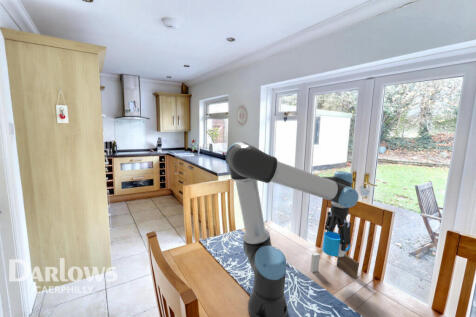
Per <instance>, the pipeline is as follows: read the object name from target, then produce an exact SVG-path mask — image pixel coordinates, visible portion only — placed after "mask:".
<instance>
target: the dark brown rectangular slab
mask: <svg viewBox="0 0 476 317" xmlns="http://www.w3.org/2000/svg"><path fill="white" fill-rule="evenodd" d="M359 266H360V262H358V261H357V260H355V259H353V258H352V257H350V256H349V255H347V253H346V254H344V256H343V257H340V259H339V267H338V268H339V269H340V270H342V271H343V272H345V273H346V274H347V275H349V276H350V277H353V279H355V280H356V279H358V275H359V274H358V273H359Z"/></svg>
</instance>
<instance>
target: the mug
mask: <svg viewBox="0 0 476 317" xmlns="http://www.w3.org/2000/svg"><path fill="white" fill-rule="evenodd" d="M322 241H323V243H322V252H323V253H324V254H326V255H328V256H330V257H335V258H336V257H337V258H338V251H339V243H341V240H340V234H339V232H336V231H333V232H332V231H327V230H326V231H324V234H323V240H322ZM351 247H352V246H351V244H350V245H347V246H346V250H345V252H346V251H349V250H350V249H351Z"/></svg>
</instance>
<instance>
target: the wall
mask: <svg viewBox="0 0 476 317" xmlns="http://www.w3.org/2000/svg"><path fill="white" fill-rule="evenodd" d="M344 254H346V255H347V251H346V252H345V253H344ZM320 257H321V254H320V253H319V252H314V253H311V261H310V262H311V263H310V272H311V273H316V272H318V271H319V267H320V259H321V258H320ZM339 259H340V257H338V256H337V259H336V267H337V268H339Z"/></svg>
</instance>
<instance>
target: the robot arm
mask: <svg viewBox="0 0 476 317" xmlns="http://www.w3.org/2000/svg"><path fill="white" fill-rule="evenodd" d="M225 162H226V163H227V165H228V169H229V173H230V178H231V179H230V180H233V181H234V182H235V185H236V191H237V195H238V200H239V206H240V210H241V216H242V221H243V226H244V234H243V235H242V239H243V240H242V241H243V242H242V246H243V252H244V254H245V256H246V258H247V260H248V262H249V266H250V267H251V270H252V272H253V289H252V291H251V293H250V296H249V298H248V303H247V304H248V305H247V310H248V313H249V315H250V317H286V316H287V317H288V303H287V301H286V296H285V286H286V284H285V283H286V273H287V258H286V255H285V254H284V252H283V251H281V249H279V248H276V247H275V246H273V245H272V240H271V235H270V232H269V230H268V229H266V227H265V226H266V225H265V220H264V215H263V214H264V213H263V210H262V209H263V208H262V203H261V197H260V192H259V185H258V181H260V182H262V183H265V184H270V183H275V184H278V185H280V186H284V187H287V188H290V189H293V190H296V191H300V192H302V193H305V194H308V195H312V196H315V197H318V198H321V199H325V200H327V201H329V202H330V203H331V204H330V211H327V217H326V221H325V225H324V230H325V231H326V232H327V231H332V232H334V230H335V228H336V226H337V229H338V233H339V234H340V240H341V243H339V251H338V256H337V258H338V257H343V256H344V253H345V250H346V248H347V246H348V245H351V226H352V223H351V222H349V221H348V220H347V217H348V215H349V211H350V208H353V207H354V206H355V205H357V203H358V201H359V199H360V198H359V197H360V196H359V192H358V191H357V190H356V189H355V188H353V174H352V173H351V172H347V171H345V170H344V171H342V170H339V171H334V174H333V176H320V175H317V174H314V173H311V172H310V171H305V170H303V169H300V168H297V167H295V166H292V165H289V164H287V163H283V162H282V161H281V162H280V161H279V160H278V158H277V157H275V156H274V155H273V156H272V155H270V154H268V153H266V152H264V151H263V150H261V149H259V148H257V147H256V146H254V145H251V144H249V143H247V142H243V141H241V142H235V143H233V144H231V145H230V146H229V147H228V149H227V150H226V153H225Z"/></svg>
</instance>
